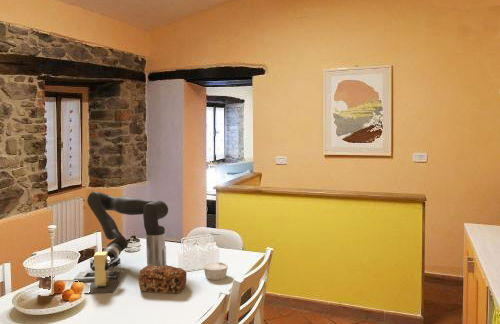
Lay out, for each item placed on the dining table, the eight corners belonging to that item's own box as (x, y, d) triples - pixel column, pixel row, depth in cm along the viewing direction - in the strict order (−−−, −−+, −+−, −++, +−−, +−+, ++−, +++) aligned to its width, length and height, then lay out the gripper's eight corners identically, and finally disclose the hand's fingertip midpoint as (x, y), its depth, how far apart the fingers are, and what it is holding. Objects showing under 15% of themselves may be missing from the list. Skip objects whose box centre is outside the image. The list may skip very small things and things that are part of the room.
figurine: (49, 297, 181) (47, 269, 180) (34, 296, 182) (32, 268, 181) (60, 290, 188) (58, 264, 187) (45, 289, 189) (44, 263, 188)
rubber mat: (119, 282, 197) (119, 281, 197) (112, 292, 185) (112, 291, 185) (92, 283, 196) (92, 282, 196) (84, 293, 184) (84, 292, 184)
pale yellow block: (108, 282, 193) (107, 251, 192) (105, 286, 189) (104, 254, 187) (98, 282, 193) (96, 251, 191) (95, 286, 188) (93, 255, 187)
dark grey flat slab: (122, 273, 208) (122, 270, 208) (118, 280, 200) (118, 277, 199) (80, 275, 207) (79, 272, 207) (73, 282, 198) (73, 278, 198)
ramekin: (232, 276, 204) (232, 265, 203) (215, 283, 195) (214, 271, 195) (216, 271, 211) (216, 260, 211) (199, 277, 203) (198, 266, 203)
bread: (138, 292, 186) (137, 269, 185) (148, 283, 196) (147, 261, 195) (179, 295, 183) (179, 272, 182) (187, 285, 193) (187, 263, 192)
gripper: (93, 248, 203) (82, 260, 186) (124, 247, 204) (116, 259, 187) (94, 264, 204) (83, 277, 187) (125, 263, 205) (116, 276, 188)
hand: (99, 268), depth 187 cm, fingers closed on pale yellow block, 4 cm apart
